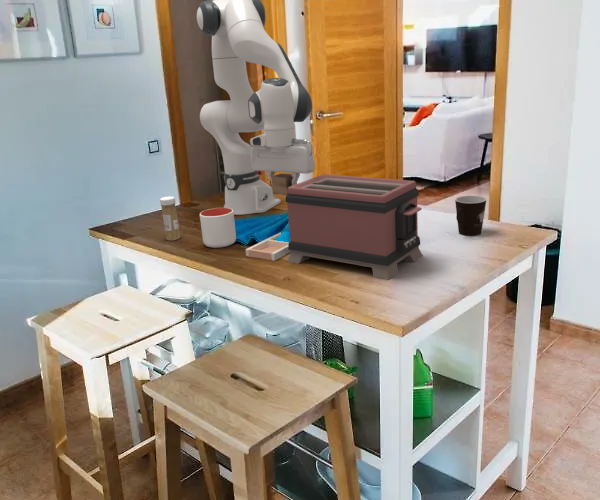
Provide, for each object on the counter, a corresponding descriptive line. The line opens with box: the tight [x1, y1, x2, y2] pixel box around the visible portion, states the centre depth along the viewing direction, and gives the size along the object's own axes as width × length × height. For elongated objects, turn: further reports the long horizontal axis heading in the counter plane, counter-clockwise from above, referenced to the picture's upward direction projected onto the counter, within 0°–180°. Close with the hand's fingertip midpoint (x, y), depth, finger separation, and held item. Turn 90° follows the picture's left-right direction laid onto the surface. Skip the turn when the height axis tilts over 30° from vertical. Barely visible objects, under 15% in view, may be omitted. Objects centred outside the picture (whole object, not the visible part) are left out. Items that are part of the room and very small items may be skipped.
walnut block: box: [271, 172, 293, 196], centre depth 172 cm, size 5×5×5 cm
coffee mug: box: [454, 195, 487, 237], centre depth 173 cm, size 12×9×10 cm
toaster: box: [284, 173, 424, 281], centre depth 157 cm, size 19×34×21 cm, turn 54°
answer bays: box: [245, 231, 290, 261], centre depth 174 cm, size 19×10×2 cm, turn 146°
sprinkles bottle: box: [159, 196, 181, 242], centre depth 189 cm, size 5×5×13 cm
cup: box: [199, 207, 237, 249], centre depth 181 cm, size 10×10×10 cm
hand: (284, 187), depth 172 cm, fingers closed on walnut block, 5 cm apart
